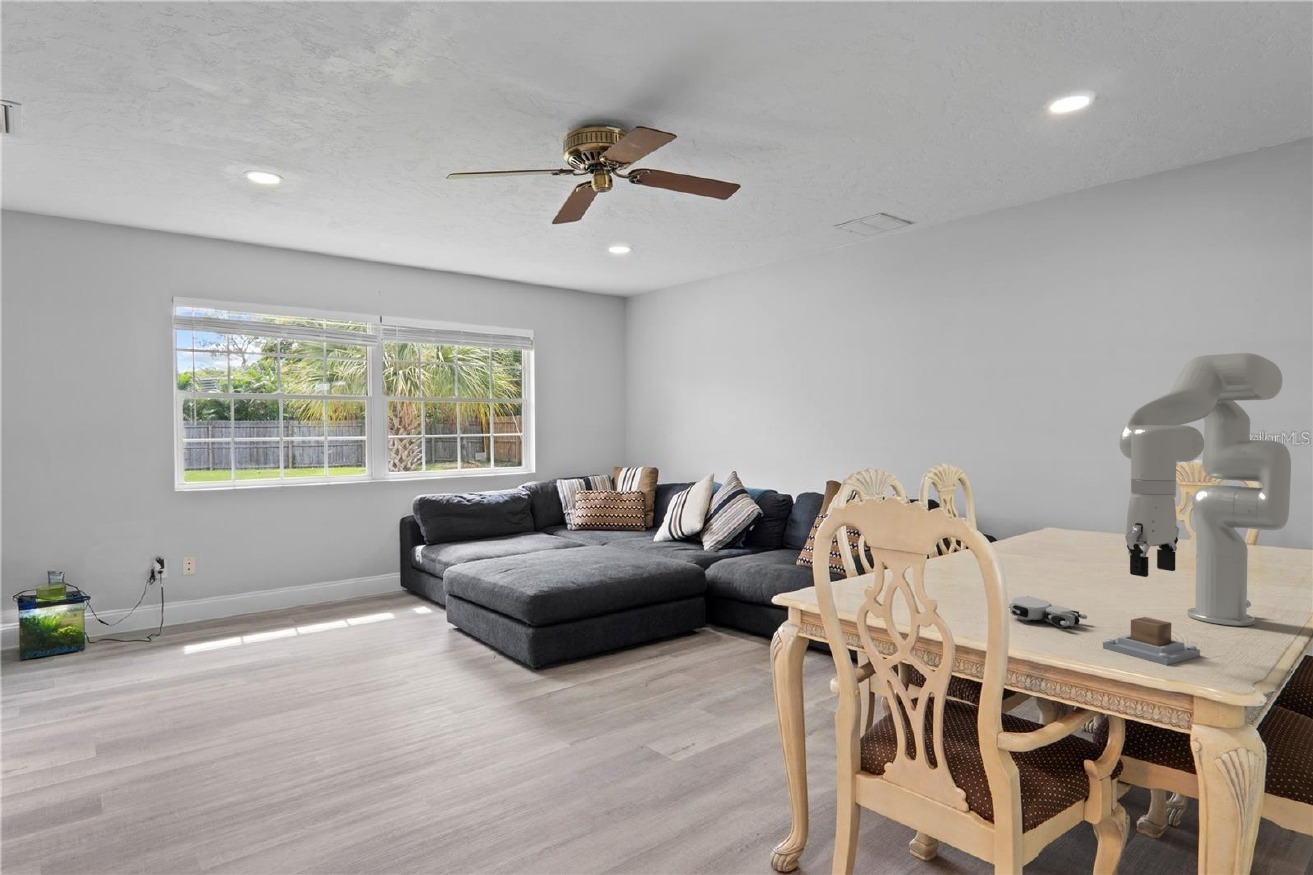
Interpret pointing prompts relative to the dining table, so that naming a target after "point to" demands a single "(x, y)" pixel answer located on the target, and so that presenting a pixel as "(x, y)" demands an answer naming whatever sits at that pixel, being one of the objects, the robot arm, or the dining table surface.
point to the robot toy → (1043, 612)
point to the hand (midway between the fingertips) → (1152, 572)
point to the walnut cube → (1151, 631)
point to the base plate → (1152, 650)
